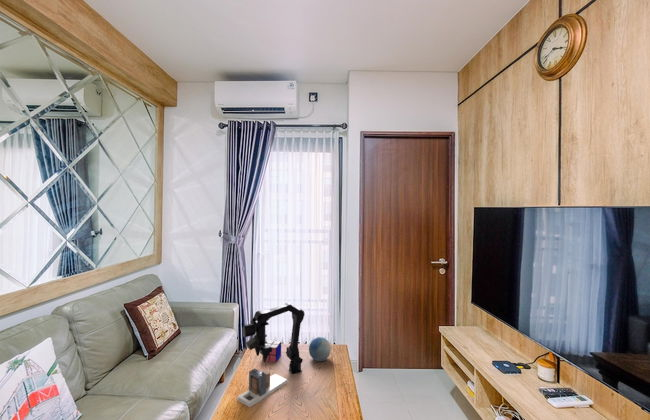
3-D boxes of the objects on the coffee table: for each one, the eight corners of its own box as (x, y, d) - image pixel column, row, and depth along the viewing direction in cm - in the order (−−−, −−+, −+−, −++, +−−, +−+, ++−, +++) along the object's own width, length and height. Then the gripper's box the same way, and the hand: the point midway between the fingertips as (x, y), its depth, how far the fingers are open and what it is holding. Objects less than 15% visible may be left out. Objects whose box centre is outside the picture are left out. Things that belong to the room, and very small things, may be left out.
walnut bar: (265, 383, 182) (265, 370, 182) (269, 386, 179) (270, 372, 179) (251, 392, 174) (251, 377, 173) (256, 394, 171) (256, 380, 171)
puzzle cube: (276, 362, 209) (276, 348, 209) (262, 361, 212) (262, 346, 211) (281, 355, 219) (281, 341, 219) (267, 354, 221) (267, 340, 221)
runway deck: (275, 377, 192) (275, 373, 192) (287, 382, 186) (287, 379, 186) (237, 400, 170) (237, 396, 170) (249, 407, 164) (249, 403, 164)
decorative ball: (317, 352, 224) (317, 331, 224) (335, 358, 216) (335, 337, 215) (304, 361, 212) (304, 339, 212) (322, 368, 203) (322, 345, 203)
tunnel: (254, 386, 179) (254, 368, 179) (266, 392, 173) (266, 374, 173) (248, 390, 176) (249, 371, 175) (260, 396, 170) (260, 377, 170)
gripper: (241, 331, 189) (241, 356, 190) (254, 342, 174) (254, 370, 175) (258, 326, 196) (259, 351, 196) (272, 337, 181) (272, 363, 181)
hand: (261, 358), depth 187 cm, fingers open, 9 cm apart
